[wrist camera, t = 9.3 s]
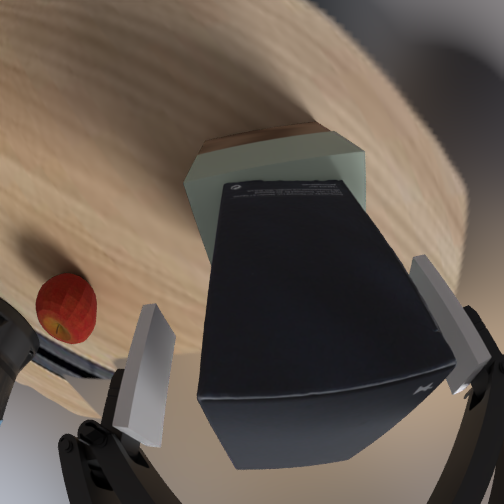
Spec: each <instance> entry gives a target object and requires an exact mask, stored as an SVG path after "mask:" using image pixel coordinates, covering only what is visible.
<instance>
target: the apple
mask: <svg viewBox="0 0 504 504" xmlns="http://www.w3.org/2000/svg"><path fill="white" fill-rule="evenodd" d="M36 312H37V317H38V320H39V322H40V324H41V325H42V327H43V328H44V329H45V330H46V331H47V332H48V333H49V334H50V335H51V336H52V337H54V338H56V339H57V340H60V341H62V342H65V343H69V344H77V343H81V342H84V341H85V340H86V339H87V338H88V337H89V336H90V334H91V333H92V331H93V329H94V326H95V324H96V312H97V301H96V295H95V293H94V291H93V288H92V287H91V286H90V285H89V284H88V282H87V281H85V280H84V279H83V278H81V277H80V276H77V275H74V274H71V273H63V274H60V275H57V276H55V277H52V278H51V279H49V280H48V281H47V282H46V283H45V284H43V285H42V287H41V289H40V290H39V292H38V295H37V299H36Z"/></svg>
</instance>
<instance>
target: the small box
mask: <svg viewBox="0 0 504 504" xmlns="http://www.w3.org/2000/svg"><path fill="white" fill-rule="evenodd" d="M456 365H457V361H456V358H455V356H454V353H453V351H452V349H451V347H450V346H449V344H448V343H447V342H446V340H445V338H444V336H443V334H442V332H441V330H440V328H439V326H438V324H437V322H436V320H435V319H434V317H433V315H432V313H431V312H430V310H429V308H428V306H427V304H426V302H425V300H424V299H423V297H422V295H421V294H420V292H419V291H418V288H417V287H416V285H415V284H414V282H413V280H412V278H411V277H410V276H409V274H408V273H407V271H406V269H405V268H404V266H403V264H402V262H401V261H400V260H399V258H398V257H397V255H396V254H395V252H394V251H393V249H392V248H391V247H390V246H389V244H388V243H387V241H386V240H385V238H384V237H383V235H382V234H381V233H380V231H379V229H378V228H377V227H376V225H375V224H374V223H373V221H372V220H371V218H370V217H369V216H368V214H367V213H366V212H365V211H364V209H363V208H362V206H361V205H360V204H359V202H358V201H357V199H356V198H355V197H354V195H353V194H352V192H351V191H350V190H349V188H348V187H347V185H346V184H345V183H344V182H343V180H339V181H338V180H335V179H334V180H326V181H319V180H314V181H298V180H296V181H282V180H278V181H263V180H252V181H243V182H234V183H226V184H224V185H223V190H222V196H221V203H220V209H219V216H218V223H217V229H216V237H215V245H214V251H213V258H212V266H211V274H210V281H209V289H208V298H207V306H206V315H205V322H204V333H203V343H202V352H201V363H200V376H199V383H198V391H197V400H198V402H199V404H200V405H201V408H202V409H203V411H204V413H205V415H206V417H207V419H208V421H209V423H210V425H211V427H212V428H213V430H214V432H215V434H216V435H217V437H218V439H219V440H220V442H221V444H222V446H223V447H224V449H225V451H226V452H227V454H228V456H229V458H230V460H231V461H232V463H233V465H234V467H235V468H236V469H238V470H239V469H240V470H241V469H242V470H245V469H279V468H293V467H303V466H312V465H319V464H327V463H333V462H339V461H344V460H348V459H350V458H351V457H353V456H354V455H356V454H357V453H359V452H360V451H362V450H363V449H365V448H366V447H367V446H369V445H370V444H372V443H373V442H374V441H375V440H377V439H378V438H380V437H381V436H382V435H383V434H385V433H386V432H387V431H388V430H390V429H391V428H392V427H394V426H395V425H396V424H397V423H398V422H400V421H401V420H402V419H403V418H404V417H406V416H407V415H408V414H409V413H410V412H411V411H412V410H413V409H414V408H416V407H417V406H418V405H419V404H420V403H421V402H422V401H423V400H424V399H425V398H426V397H427V396H428V395H430V394H431V393H432V392H433V390H435V389H436V388H437V386H439V385H440V383H442V381H444V379H445V378H446V377H447V376H448V375H449V374H450V373H451V372H452V371H453V369H454V368H455V367H456Z"/></svg>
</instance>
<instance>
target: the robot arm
mask: <svg viewBox="0 0 504 504" xmlns="http://www.w3.org/2000/svg"><path fill="white" fill-rule="evenodd" d="M409 276H410V277H411V278H412V280H413V282H414V284H415V285H416V287H417V288H418V291H419V292H420V294H421V295H422V297H423V299H424V300H425V302H426V304H427V306H428V308H429V310H430V312H431V313H432V315H433V317H434V319H435V320H436V322H437V324H438V326H439V328H440V330H441V332H442V334H443V336H444V338H445V340H446V342H447V343H448V344H449V346H450V347H451V349H452V351H453V353H454V356H455V358H456V361H457V365H456V367H455V368H454V369H453V371H452V372H451V373H450V374H449V375H448V376H447V377H446V379H447V382H448V385H449V387H450V389H451V392H452V394H453V395H454V394H456V393H458V392H460V391H462V390H464V389H465V388H466V387H467V386H468V385H469V384H470V383H471V385H472V388H471V389H470V390H469V391H468V392H467V393H466V394H465V396H464V399H466V398H467V396H469V398H468V402H467V406H466V409H465V413H464V416H463V419H462V422H461V426H460V429H459V432H458V434H457V438H456V440H455V443H454V446H453V448H452V451H451V454H450V456H449V459H448V461H447V463H446V465H445V468H444V470H443V472H442V474H441V477H440V479H439V481H438V483H437V485H436V487H435V489H434V491H433V493H432V495H431V496H430V498H429V501H428V502H427V504H481V501H482V499H483V497H484V495H485V492H486V490H487V488H488V485H489V483H490V480H491V477H492V475H493V472H494V469H495V466H496V469H495V475H494V480H493V485H492V490H491V494H490V498H489V502H488V504H504V355H503V354H502V353H501V352H500V350H499V349H498V347H497V345H496V343H495V341H494V340H493V338H492V336H491V335H490V333H489V331H488V329H487V328H486V326H485V324H484V323H483V322H482V320H481V318H480V316H479V315H478V313H477V312H476V311H475V310H474V309H473V308H471V307H470V306H469V305H468V306H465V307H462V306H461V304H460V303H459V301H458V300H457V298H456V297H455V295H454V294H453V292H452V291H451V289H450V288H449V286H448V285H447V284H446V282H445V281H444V279H443V278H442V277H441V275H440V274H439V272H438V271H437V270H436V268H435V267H434V266H433V264H432V263H431V262H430V260H429V259H428V258H427V257H426V255H425V254H424V255H420V256H416V257H413V260H412V265H411V269H410V274H409ZM175 339H176V336H175V334H174V332H173V331H172V329H171V328H170V326H169V324H168V323H167V321H166V320H165V318H164V316H163V315H162V313H161V311H160V310H159V308H158V306H157V304H156V303H155V304H147V305H143V307H142V310H141V313H140V316H139V320H138V323H137V326H136V330H135V333H134V337H133V340H132V344H131V347H130V351H129V355H128V359H127V363H126V367H125V369H117V370H116V372H115V373H114V375H113V377H112V379H111V383H110V387H109V388H110V389H109V391H108V397H107V399H106V403H105V407H104V412H103V417H102V421H101V424H99V423H97V422H96V421H94V420H86V421H84V422H83V423H82V424H81V425H80V427H79V429H78V437H75V436H73V435H71V434H65V435H63V436H62V437H61V438H60V440H59V443H58V450H59V457H60V462H61V468H62V473H63V477H64V482H65V486H66V490H67V494H68V498H69V501H70V504H182V503H181V502H180V501H179V500H178V498H177V497H176V496H175V495H174V493H173V492H172V491H171V490H170V489H169V487H168V486H167V484H166V483H165V482H164V481H163V479H162V478H161V477H160V475H159V474H158V472H157V471H156V470H155V468H154V467H153V465H152V464H151V462H150V461H149V460H148V458H147V457H146V455H145V454H144V452H143V451H142V449H141V448H140V443H142V444H144V445H146V446H152V447H153V446H154V447H161V441H162V432H163V422H164V414H165V406H166V398H167V391H168V384H169V377H170V370H171V363H172V357H173V351H174V345H175ZM39 345H40V344H39V339H38V337H37V335H36V333H35V332H34V330H33V329H32V327H31V326H30V325H29V324H28V323H27V321H26V320H25V319H24V318H23V317H22V316H21V315H20V314H19V313H18V312H17V311H16V310H14V309H13V308H12V307H11V306H10V305H8V304H7V303H6V302H4V301H3V300H1V299H0V425H1V423H2V421H3V415H4V412H5V409H6V405H7V402H8V399H9V396H10V393H11V390H12V388H13V385H14V382H15V380H16V377H17V375H18V373H19V372H20V371H21V370H22V369H23V368H24V367H25V366H26V365H27V364H28V363H29V362H30V361H31V360H32V359H33V357H34V356H35V355H36V353H37V350H38V348H39Z"/></svg>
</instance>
